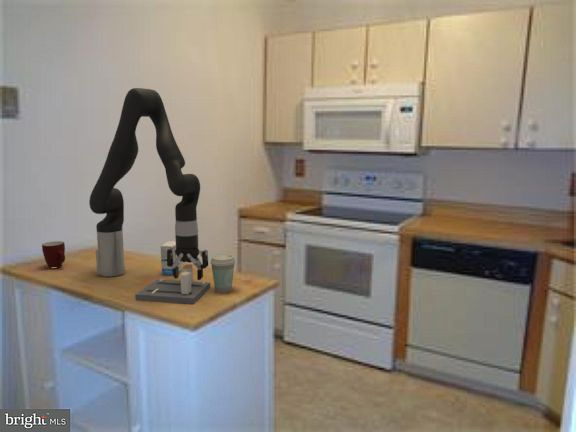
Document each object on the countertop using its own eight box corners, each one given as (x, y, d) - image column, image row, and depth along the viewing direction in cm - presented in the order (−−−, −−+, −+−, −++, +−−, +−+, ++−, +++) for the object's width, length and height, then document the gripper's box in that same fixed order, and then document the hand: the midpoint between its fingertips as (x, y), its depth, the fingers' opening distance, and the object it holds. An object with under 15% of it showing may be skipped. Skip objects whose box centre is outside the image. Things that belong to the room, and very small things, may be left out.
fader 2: (181, 293, 144) (180, 274, 143) (185, 290, 148) (184, 271, 146) (187, 294, 144) (187, 274, 143) (191, 290, 147) (190, 271, 146)
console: (135, 300, 145) (135, 294, 145) (157, 284, 160) (157, 278, 160) (193, 304, 142) (193, 297, 141) (210, 287, 157) (210, 282, 157)
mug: (75, 266, 181) (73, 243, 180) (58, 272, 174) (55, 247, 172) (57, 263, 186) (55, 240, 184) (39, 268, 178) (37, 244, 177)
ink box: (173, 275, 171) (171, 246, 168) (161, 275, 172) (159, 245, 169) (182, 269, 179) (181, 241, 177) (171, 268, 180) (170, 240, 178)
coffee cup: (225, 296, 149) (224, 261, 147) (205, 291, 154) (205, 257, 152) (240, 288, 156) (240, 255, 154) (222, 284, 161) (221, 252, 159)
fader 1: (183, 285, 153) (182, 266, 151) (187, 282, 156) (186, 264, 155) (189, 285, 152) (188, 267, 151) (192, 282, 155) (192, 264, 154)
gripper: (162, 234, 148) (164, 281, 151) (202, 236, 146) (204, 283, 149) (171, 229, 156) (173, 274, 158) (210, 231, 153) (211, 276, 156)
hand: (188, 278), depth 154 cm, fingers open, 8 cm apart
